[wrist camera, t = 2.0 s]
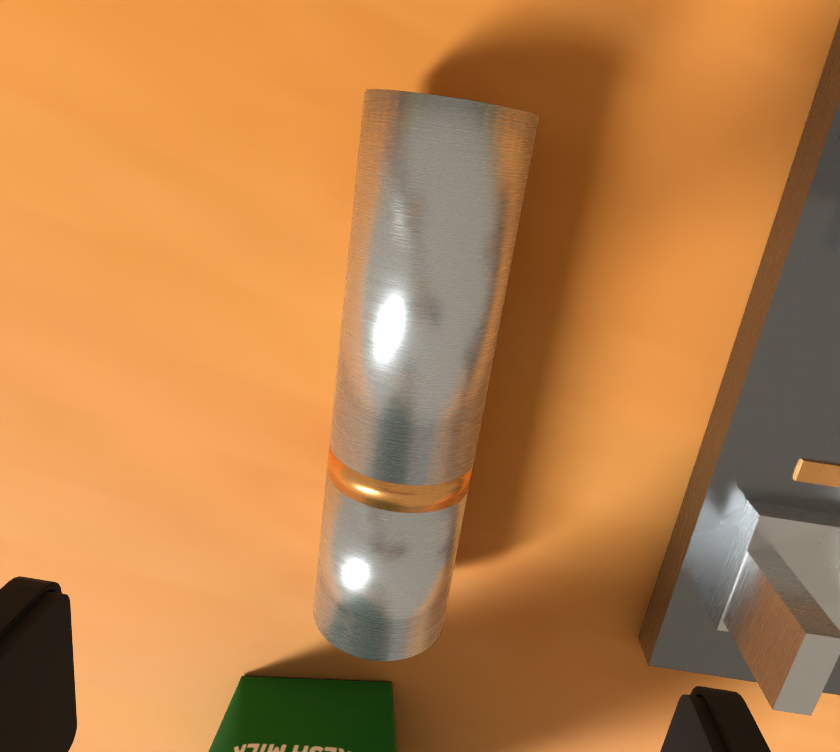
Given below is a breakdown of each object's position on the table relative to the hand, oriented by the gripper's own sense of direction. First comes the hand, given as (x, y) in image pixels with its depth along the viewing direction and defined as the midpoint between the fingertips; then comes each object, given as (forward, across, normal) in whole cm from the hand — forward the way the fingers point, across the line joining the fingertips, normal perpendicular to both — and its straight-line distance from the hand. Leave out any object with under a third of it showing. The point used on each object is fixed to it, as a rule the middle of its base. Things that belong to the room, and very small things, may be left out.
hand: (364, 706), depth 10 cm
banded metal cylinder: (+12, 0, 0) cm, 12 cm away
